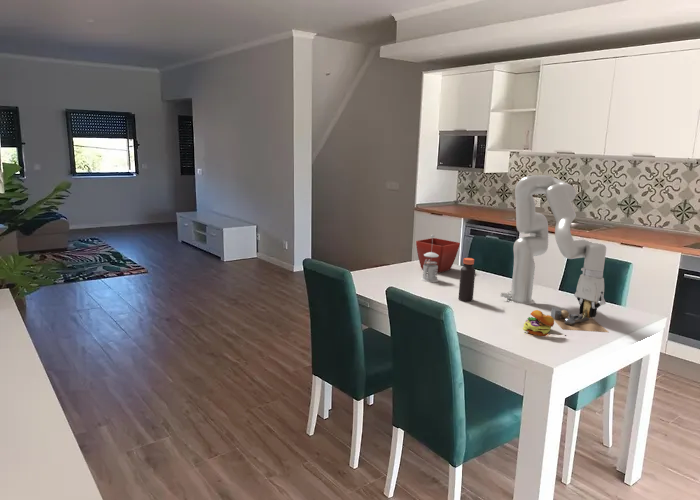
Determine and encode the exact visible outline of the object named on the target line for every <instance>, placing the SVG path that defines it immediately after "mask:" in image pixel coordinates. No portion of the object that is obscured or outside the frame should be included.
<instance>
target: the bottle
mask: <svg viewBox="0 0 700 500" xmlns="http://www.w3.org/2000/svg"><path fill="white" fill-rule="evenodd" d="M462 261H463V262H462V263H463V264H462V265H463V266H462V267H461V268H460V273H459V275H460V276H459V287H458V301H462V302H465V303H466V302H467V303H469V302H472V301H474V292H475V291H474V289H475V278H476V269H475V267H474V264H475V259H474V258H472V257H464V258H463V260H462Z"/></svg>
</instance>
